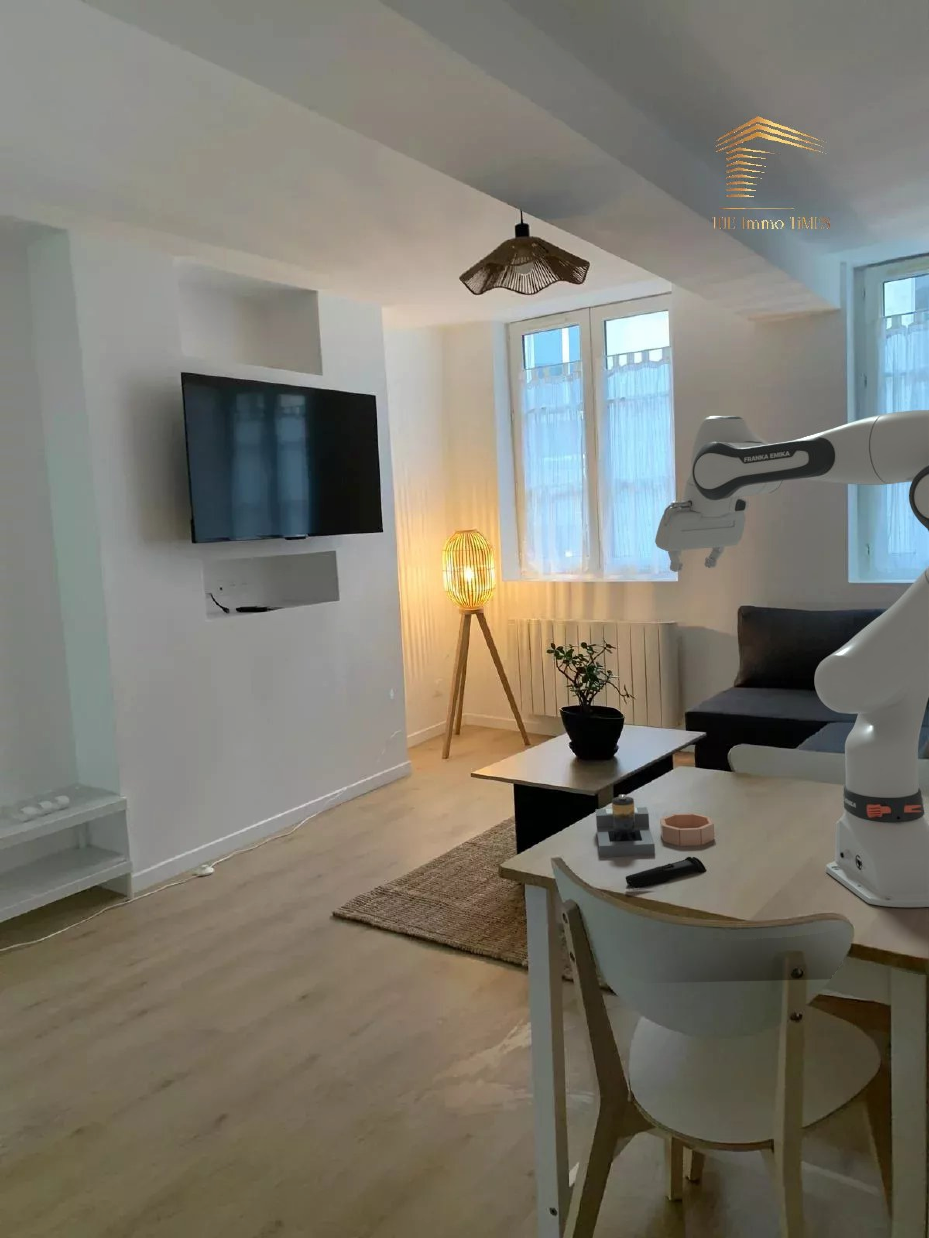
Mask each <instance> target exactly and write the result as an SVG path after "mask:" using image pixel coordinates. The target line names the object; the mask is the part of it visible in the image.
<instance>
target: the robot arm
mask: <svg viewBox="0 0 929 1238" xmlns="http://www.w3.org/2000/svg"><path fill="white" fill-rule="evenodd" d="M694 438H695V439H694V441H693V446H692V451H691V456H690V466H691V467H690V472H689V474H688V476H687V478H686V481H685V482H686V483H685V487H684V492H683V497H682V501H673V502H671V503H670V504H668V506H667V507H666V508H665V509H664V510H663V515H661V518H660V522H659V525H658V528H657V531H656V534H655V540H654V542H655V545H656V547H657V548H658V549H661V550H664V551H666V552H667V554H668V557H669V559H670V564H669V570H670V571H672V572H673V573H676V572H681V571H682V570H683V569H682V568H683V565H684V563H683V562H681V561H680V556H682V552H683V551H688V550H698V549H709V548H711V552H710V553H709V555H708V557H707V556H706V557H705V561H704V566H705V567H706V568H708V569H712V568H713V569H714V568H716V567H717V563H718V560H719V558H720V557H721V556H722V554H723V553H724V551H725V547H729V546H731V547H732V546H737V545H738V544H739V542H740V541H741V540H742V538H743V537H742V536H743V532H744V531H745V530H744V528H745V523H746V513H745V512H747V510H748V509H749V505H750V501H749V500H747V499H745V498H742V497H751V496H752V497H753V496H763V495H766V494H771V493H773V492H775V491H776V490H777V489H779V487H780V486H781V485H782V484H783V482H784V481H816V482H825V483H835V484H836V483H837V484H845V485H855V486H856V485H857V486H882V485H884V486H885V485H891V484H899V483H909V482H910V483H911V484H910V487H909V490H908V501H909V506H910V508H911V511H912V513H913V515H914V517H916V519H917V520H918V521H919V523H920V524H921V525H922V526H924V527H925V528H926V529H927V532H929V409H926V410H925V409H922V410H921V409H917V410H905V411H904V410H903V411H895V412H889V413H883V414H878V415H873V416H869V417H865V418H861V419H858V420H854V421H852V422H849V423H845V424H842V425H839V426H836V427H834V428H830V429H828V430H823V431H821V432H818V433H814V434H811V435H808V436H804V437H802V438H797V439H794V440H789V441H783V442H777V443H769V442H768V441H766V440H765V439H763V438H761V437H760V436H759V435H757V434H756V433H755V432H754V431H753V430H751V428H750V427H749V425H748V424H747V422H746V420H745V419H744V418H743V417H741V416H737V415H710V416H707V417H705V418H704V419H703V420H702V421H701V423H700V425H699V426H698V429H697V431H696V436H695V437H694ZM813 682H814V687H815V691H816V694H817V696H818V698H819V700H820V701H821V703H823V705H824V706H826V707H827V708H828V709H830V710H831V711H833V712H836V713H840V714H850V715H852V714H853V715H855V714H856V715H857V717H856V719H855V723H854V726H853V728H852V729H851V730H850V732H849V733H848V735H847V737H846V738H845V739H846V740H845V742H844V757H845V758H844V761H845V764H844V765H845V785H844V786H843V793H842V800H843V808H844V809H845V810H844V813H843V815H842V816H840V819H838V820H837V821H836V823H835V830H834V831H835V832H834V833H835V834H834V835H835V836H834V861H831V862H829V863H826V865H825V872H826V873H827V874H829V875H830V876H831V877H833V878H834V879H835V880H837V881H838V882H840V884H842V885H843V886H844V887H846V888H847V889H849V890H850V891H851V892H852V893H853V894H855V895H856V896H858V898H861V900H863V901H864V902H866V903H867V904H870V905H876V906H880V907H881V906H882V907H889V908H890V907H891V908H926V907H927V908H929V822H928V818H926V816H925V808H924V804H925V803H924V799H923V796H922V795H923V794H922V791H921V789H920V788H919V743H920V742H919V740H920V734H921V729H922V724H923V721H924V716H925V712H926V708H927V704H928V701H929V566H928V567H927V568H926V569H925V570H924V571H923V572H922V573H921V574H920V575H919V576H918V578H917V579H916V580H915V581H914V582H913V583H912V584H911V585H910V586H909V588H908V589H907V590H906V591H904V593H903V594H902V595H901V596H900V598H898V599H897V601H895V602H894V603H893V604H892V605H891V606H890V607H889V608H887V610H885V611H884V612H883V613H882V614H880V615H879V616H877V617H876V618H875V619H874V620H872V621H871V622H870V623H869V624H867V626H865V627H864V628H862V629H860V631H859V632H858V633H856V634H855V635H854V636H853V637H852V638H851V639H849V641H848V642H846V643H844V645H842V646H840V648H838V649H837V650H835V651H834V652H832V653H831V654H830V655H828V656H826V657H825V658H824V659H823V660H821V661H820V662H819V664H818V666H817V667H816V669H815V672H814V681H813Z"/></svg>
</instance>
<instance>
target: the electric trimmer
mask: <svg viewBox="0 0 929 1238" xmlns="http://www.w3.org/2000/svg"><path fill="white" fill-rule="evenodd" d="M706 871H707V868H706V866H705V865H704V864H703V861H701V860H700V859H699V858H697V857H694V856H693V857H691V856H687V857H685V859H683V860H679V861H676V862H672V863H671V862H670V863H667V864H664V865H661V866H656V867H653V868H649V869H646V870H642V871H640V872H636V873H633V874H629V875H626V876H625V882H626V884H627V885H628V886H630V887H631V888H633V889H642V888H647V887H653V886H656V885H661V884H666V883H668V882H670V880H674V879H677V878H680V877H684V876H688V875H692V874H696V873H705V872H706Z"/></svg>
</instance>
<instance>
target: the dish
mask: <svg viewBox="0 0 929 1238" xmlns="http://www.w3.org/2000/svg"><path fill="white" fill-rule="evenodd" d="M659 826H660V836H661V839H662V842H664V843H669V844H672V845H675V846H678V847H679V846H681V847H683V846H684V847H686V846H703V845H705V844H707V843H709V842H712V841H714V840H715V824H714V821H713V820H712V817H711V816H707V815H704V814H700V813H695V812H694V813H693V812H689V813H671V814H669V815H667V816H665V817H664V816H663V817H661V818H660V819H659Z"/></svg>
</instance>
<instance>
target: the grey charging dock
mask: <svg viewBox="0 0 929 1238" xmlns="http://www.w3.org/2000/svg"><path fill="white" fill-rule="evenodd" d="M634 811H635V833H636V841H620V842H615V841H614V824H613V812H612V808H598V809H597V808H596V809H595V821H596V834H597V835H596V837H597V843H598V852H599V858H601V857H603V858H604V857H627V856H628V857H630V856H631V857H634V856H636V857H637V856H655V855H656V849H655V848H656V847H655V845H656V844H655V842H654V838H653V835H652V831H651V827H650V816H649V815H650V813H649V811H648V808H647V806H646V807H645V806H644V807H643V806H642V807H634Z"/></svg>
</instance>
